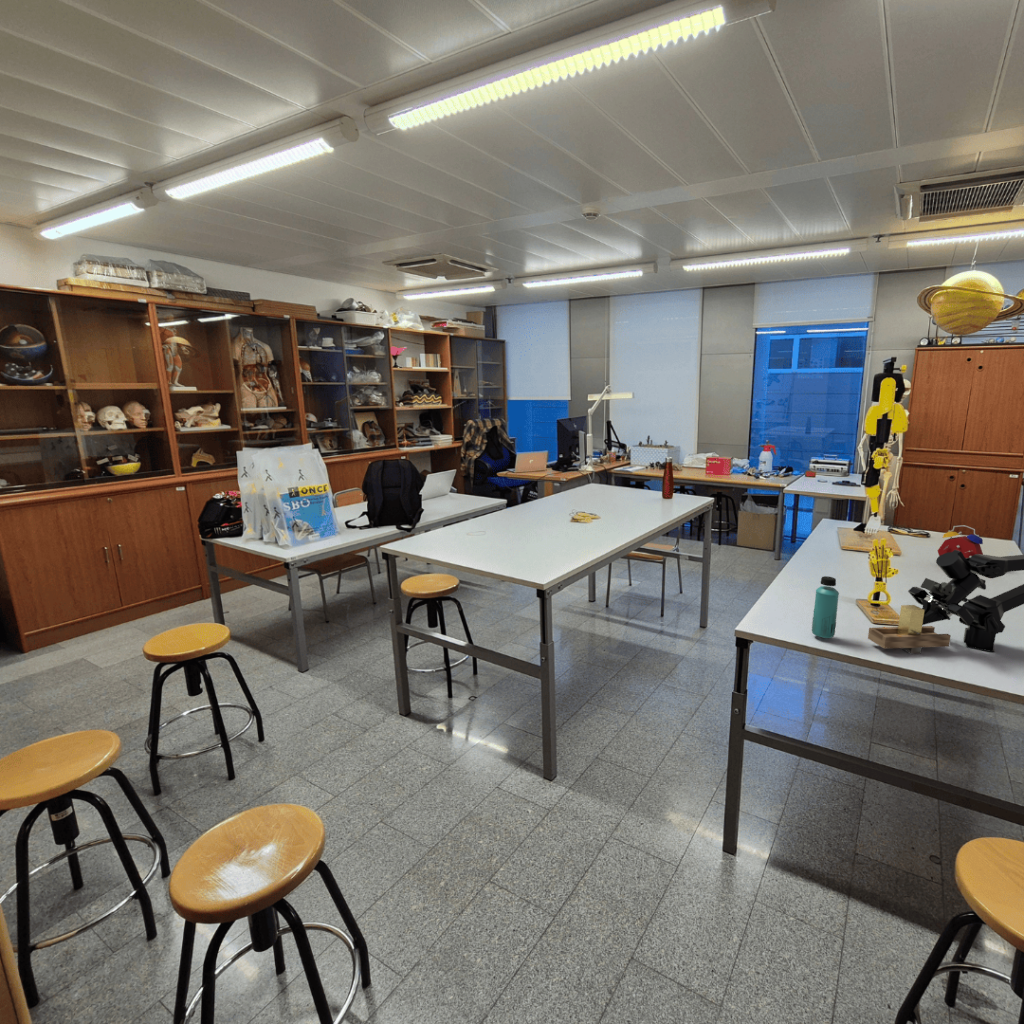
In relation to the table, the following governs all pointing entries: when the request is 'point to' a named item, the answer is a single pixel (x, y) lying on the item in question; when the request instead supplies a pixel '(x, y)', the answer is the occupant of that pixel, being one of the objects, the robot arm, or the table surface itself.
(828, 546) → the table surface
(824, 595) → the beverage bottle
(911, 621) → the beige upright block
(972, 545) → the alarm clock
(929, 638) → the wooden footed tray
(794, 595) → the table surface
